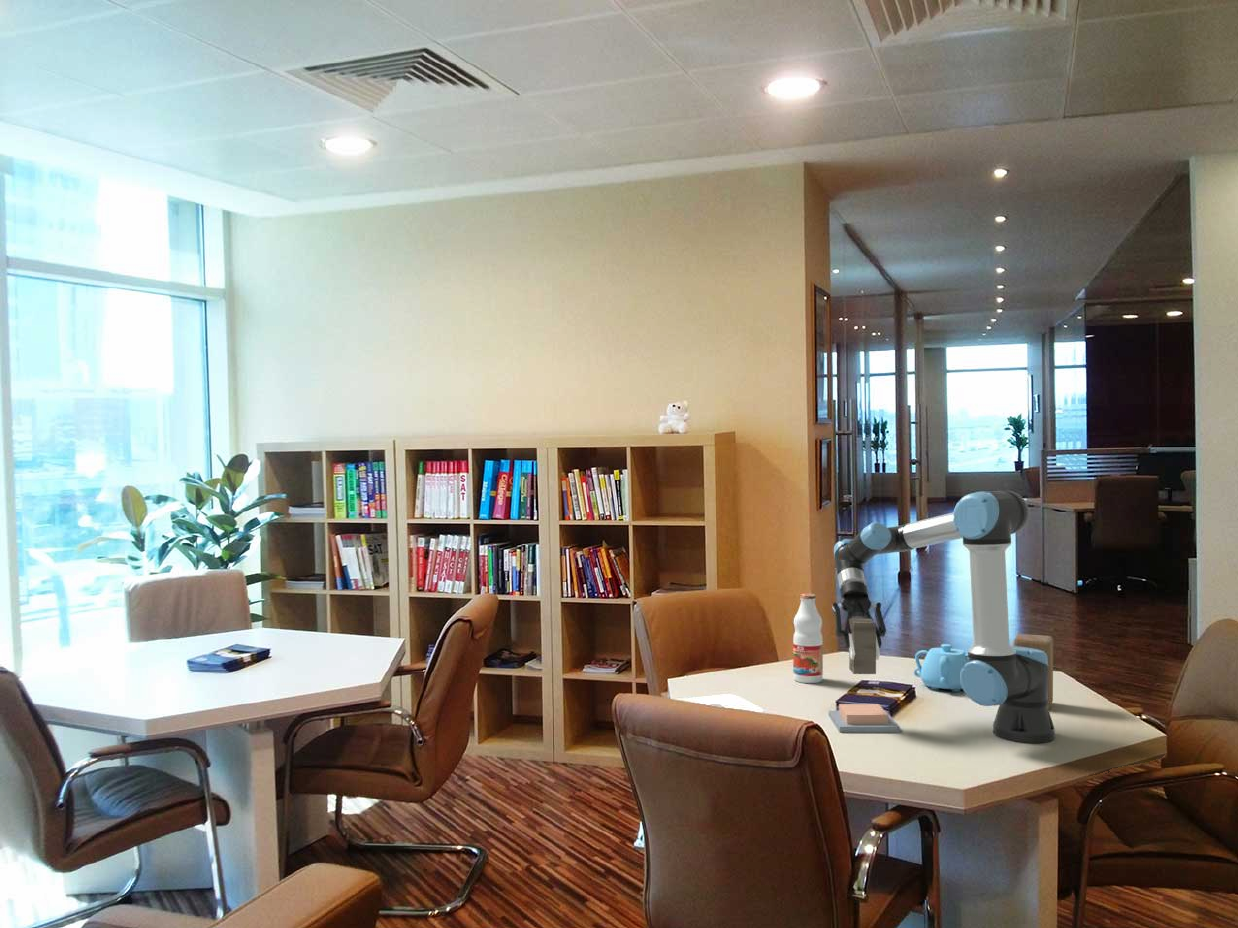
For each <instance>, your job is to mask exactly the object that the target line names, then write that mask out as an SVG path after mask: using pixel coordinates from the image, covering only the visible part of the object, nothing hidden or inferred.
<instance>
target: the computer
mask: <svg viewBox="0 0 1238 928" xmlns="http://www.w3.org/2000/svg"><path fill="white" fill-rule="evenodd" d="M676 699H677V698H676ZM677 700H685V701H690V702H695V703H700V704H706V705H712V706H718V707H725V708H734V709H743V710H750V711H755V712H761V713H764V714H765V709H763V708H762V707H760V706H758V705H756V704H754V703H752V702H750V701H748V700H746V699H745V698H743V697H741V696H739V695H735V694H732V693H730V694H729V693H726V694H716V695H715V694H714V695H707V696H705V695H704V696H697V697H696V696H695V697H688V698H687V697H686V698H678V699H677Z"/></svg>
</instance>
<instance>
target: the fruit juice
mask: <svg viewBox="0 0 1238 928" xmlns="http://www.w3.org/2000/svg"><path fill="white" fill-rule="evenodd" d="M799 599H800V603H799V604H800V605H799V608H798V610H797V613H796V614H795V616H794V618H793V625H794V633H793V637H792V638H793V639H792V641H793V643H792V644H793V645H792V648H793V650H792V653H793V661H792V663H793V664H792V666H793V669H792V671H793V676H792V677H793V680H794V681H795V682H798V683H803V684H817V683H818V684H819V683H820V682H822V681H823V677H824V676H823V675H824V670H823V668H824V667H823V664H824V663H823V661H824V660H823V658H824V657H823V656H824V655H823V653H824V652H823V649H824V648H823V646H824V645H823V642H824V641H823V639H824V638H823V634H822V631H821V630H822V626H823V619H822V617H821V615H820V613H819V612H818V608H817V606H816V602H815V601H816V594H815V593H800V596H799Z"/></svg>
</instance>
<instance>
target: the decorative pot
mask: <svg viewBox="0 0 1238 928" xmlns="http://www.w3.org/2000/svg"><path fill="white" fill-rule="evenodd" d="M952 647H953V645H952V644H948V643H942V644H941V645H940V647H932V648H930V649H929V650H926V649H922V650H919V651H917V652H916V653H915V655H914V658H915V659H914V660H915V663H916V666H917V667H915V668H914V670H913V675H914V676H915V677H917V678H921V679H920V680H921V681H922V683H923V684H924V685H925V686H927V687H930V690H934V691H937V690H938V691H939V690H940V689H942V690H943V689H944V690H951V691H952V692H953V691H954V692H955V693H959V692H961V690H963V688H962V685H961V681H960V673H961V670H962V668H963V667H964V666H965V664H966V663H968V653H966V652H965V651H964V650H963V649H959V648H952ZM922 654H923V655H926V656H925V657H924V659H923V662H922V664H921V662H920V659H919V656H920V655H922ZM917 671H918V672H917Z"/></svg>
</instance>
